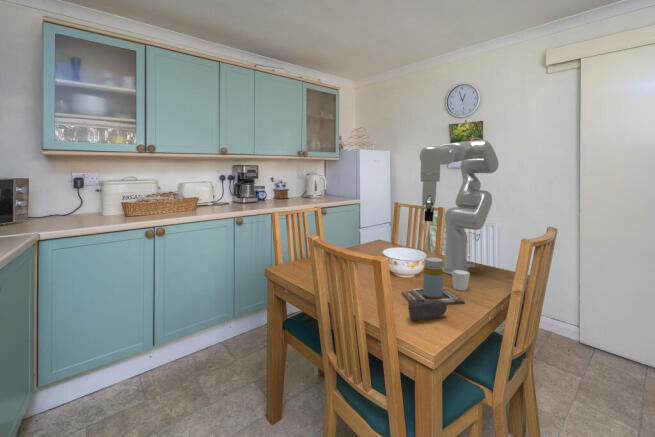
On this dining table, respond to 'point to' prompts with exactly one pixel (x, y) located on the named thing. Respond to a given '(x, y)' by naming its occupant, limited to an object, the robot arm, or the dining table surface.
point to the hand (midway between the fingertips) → (429, 218)
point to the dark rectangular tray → (447, 298)
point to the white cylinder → (460, 279)
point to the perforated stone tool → (426, 309)
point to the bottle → (433, 278)
